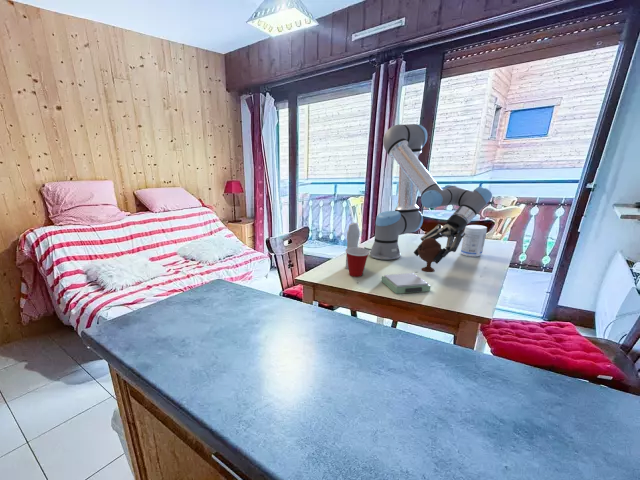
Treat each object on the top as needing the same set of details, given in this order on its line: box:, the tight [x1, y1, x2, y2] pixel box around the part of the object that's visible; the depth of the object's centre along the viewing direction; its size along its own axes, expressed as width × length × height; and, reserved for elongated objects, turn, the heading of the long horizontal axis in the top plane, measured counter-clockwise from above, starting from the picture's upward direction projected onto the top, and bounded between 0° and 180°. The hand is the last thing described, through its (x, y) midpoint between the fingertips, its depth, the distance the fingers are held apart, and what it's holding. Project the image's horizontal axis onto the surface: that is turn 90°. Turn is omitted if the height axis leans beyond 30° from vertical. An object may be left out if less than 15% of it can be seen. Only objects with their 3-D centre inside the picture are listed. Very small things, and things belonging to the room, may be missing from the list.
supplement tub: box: [460, 224, 488, 258], centre depth 168 cm, size 10×10×15 cm
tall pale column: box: [345, 222, 361, 270], centre depth 161 cm, size 11×4×22 cm, turn 134°
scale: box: [381, 272, 431, 295], centre depth 136 cm, size 15×14×3 cm
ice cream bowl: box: [417, 238, 443, 273], centre depth 144 cm, size 11×11×15 cm
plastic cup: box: [344, 246, 371, 278], centre depth 150 cm, size 11×11×12 cm
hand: (424, 257), depth 144 cm, fingers closed on ice cream bowl, 11 cm apart
